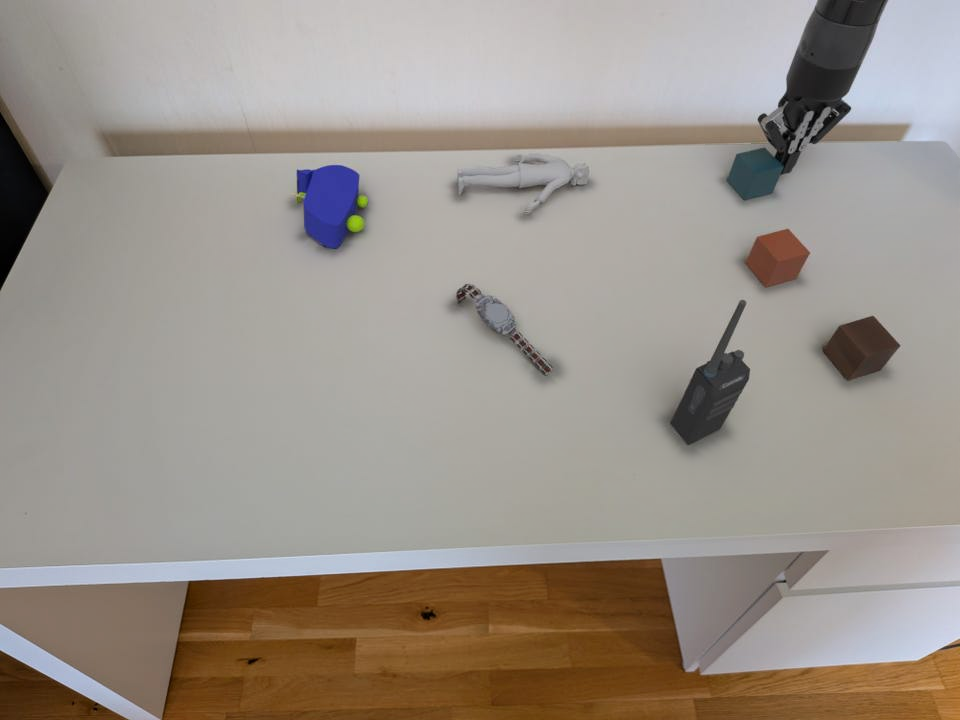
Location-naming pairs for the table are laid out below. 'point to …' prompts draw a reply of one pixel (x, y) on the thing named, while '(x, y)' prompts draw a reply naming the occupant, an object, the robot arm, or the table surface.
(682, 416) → the walkie-talkie
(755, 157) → the teal block
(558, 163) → the figurine
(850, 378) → the walnut block
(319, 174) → the toy
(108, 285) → the table surface
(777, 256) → the terracotta block
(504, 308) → the wristwatch
